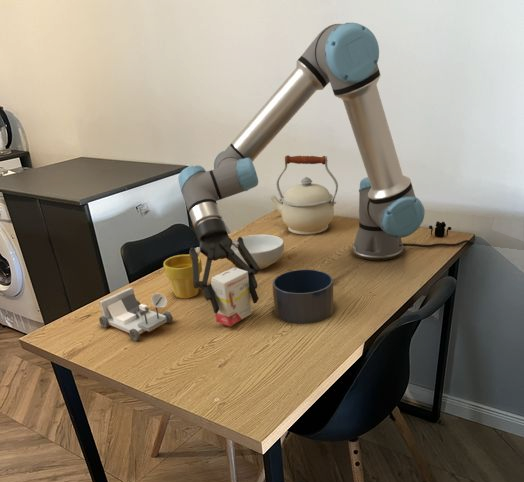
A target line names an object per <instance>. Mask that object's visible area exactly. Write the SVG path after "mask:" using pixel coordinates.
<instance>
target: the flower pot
mask: <svg viewBox="0 0 524 482" xmlns="http://www.w3.org/2000/svg"><path fill="white" fill-rule="evenodd" d="M198 267H199V279H200V278H201V273H202V271H203V264H202V259H201V257H200V256H199V257H198ZM163 270H164V274H165V277H167V278H168V281H169V282H170V283H169V284H170V286H171V288H172V290H173V294H174V296H175V297H177V298H178V299H179V298H180V299H189V298H193V297H196V296H197V295H198V294H199V292H200V291H199V289H200V288H194V286H193V268H192V259H191V257H190V255H189V254H177V255H173V256H170V257H169V258H166V259H165V260H164V261H163Z"/></svg>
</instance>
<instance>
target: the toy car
mask: <svg viewBox="0 0 524 482" xmlns="http://www.w3.org/2000/svg"><path fill="white" fill-rule="evenodd" d="M150 301H151V304H152V306H153V307H154V308H155V311H154V310H151V309H149V307H148V305H146V304H144V303H141V302H140V301H139V300H137V297H136V295H135V291H134V287H132V286H131V287H128V288H126V289H123V290H121V291H119V292H117V293H115V294H112V295H111V296H108V297H106V298H104V299H102V300H100V301H99V302H98V303H99V306H100V310H101V314H102V316H100V317H99V318H98V322H99V324H100V326H101V327H103V328H104V329H106V328H108V327H109V326H111V327H114V328H116V329H119V330H121V331H123V332H126V333H127V334H129V336H130V339H132V340H133V341H134V342H137V341H139V340H140V337H141V336H140V335H141V334H143V333H145V332H148V333H150V332H152V331H153V330H156V329H157V328H159V327H161V326H162V325H164V324H166V323H167V324H171V323H172V322H173V321H174V318H173V316H172V314H171V312H169V311H168V310H166V311H164V312H163V313H159V311H158V309H163V308H166V307H167V306H168V299H167V297H166V296H165V294H163V293H160V292H156V293H153V294H152V295H151V300H150Z"/></svg>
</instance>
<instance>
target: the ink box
mask: <svg viewBox="0 0 524 482" xmlns="http://www.w3.org/2000/svg"><path fill="white" fill-rule="evenodd" d="M210 282H211V283H210V284H211V286H212V289H213V292H214V295H215V298H216V301H217V304H218V307H219V311H218V313H215V312H214V315H215V322H216V323H218V324H222V325H224V326H227V327H232V326H234V325H235V324H237V323H239V322H241V321H242V320H244V319H245V318H247V317H249V316H250V315H252V314H253V309H252V297H251V294H250V288H249V278H248V271H245V270H242V269H239V268H237V267H236V266H235V267H234V266H233V267H231V268H228V269H227V270H225V271H222V272H220V273H218V274H215V275H214V276H212V277H211V278H210Z"/></svg>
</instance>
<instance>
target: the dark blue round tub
mask: <svg viewBox="0 0 524 482" xmlns="http://www.w3.org/2000/svg"><path fill="white" fill-rule="evenodd" d="M271 284H272V293H273V294H272V296H273V309H274V314H275V316H276V317H277V318H278V319H280V320H282V321H284V322H287V323H291V324H313V323H318V322H320V321H323V320H325V319H327V318H329V317H330V316H331V315H332V314H333V313H334V278H333V276H332V275H331V274H329V273H328V272H325V271H322V270H318V269H310V268H304V269H294V270H288V271H286V272H285V271H284V272H282V273H280V274H278V275H277V276H276V277H275V278H273V280H272V283H271Z"/></svg>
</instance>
